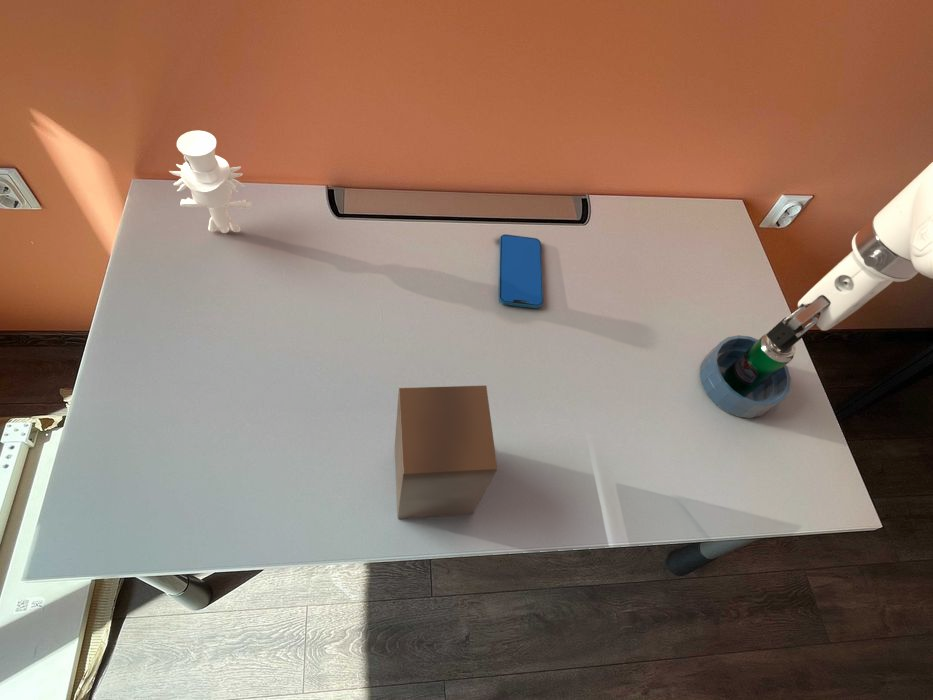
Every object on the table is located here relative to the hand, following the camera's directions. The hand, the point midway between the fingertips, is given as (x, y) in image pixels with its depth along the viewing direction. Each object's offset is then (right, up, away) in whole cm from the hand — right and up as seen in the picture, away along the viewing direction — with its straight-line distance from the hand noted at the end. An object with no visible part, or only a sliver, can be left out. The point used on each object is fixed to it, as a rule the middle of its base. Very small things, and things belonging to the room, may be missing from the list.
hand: (797, 327), depth 79 cm
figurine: (-85, +16, +16) cm, 88 cm away
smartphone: (-36, +10, +20) cm, 42 cm away
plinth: (-50, -21, -1) cm, 54 cm away
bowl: (-2, -8, +14) cm, 16 cm away
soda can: (-2, -8, +13) cm, 16 cm away
